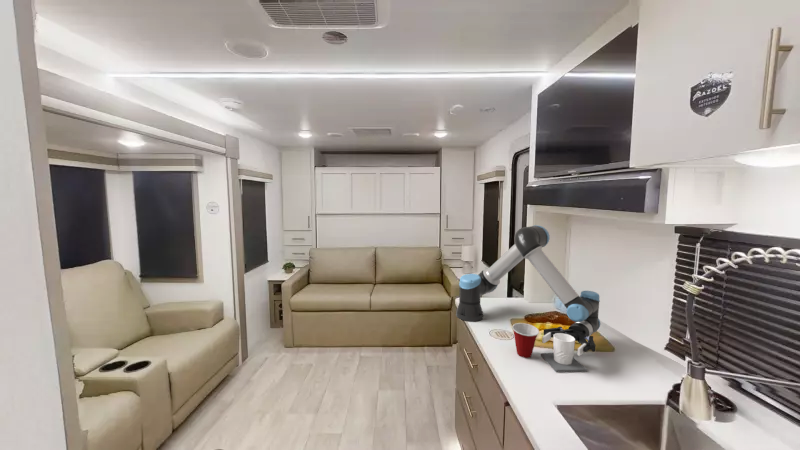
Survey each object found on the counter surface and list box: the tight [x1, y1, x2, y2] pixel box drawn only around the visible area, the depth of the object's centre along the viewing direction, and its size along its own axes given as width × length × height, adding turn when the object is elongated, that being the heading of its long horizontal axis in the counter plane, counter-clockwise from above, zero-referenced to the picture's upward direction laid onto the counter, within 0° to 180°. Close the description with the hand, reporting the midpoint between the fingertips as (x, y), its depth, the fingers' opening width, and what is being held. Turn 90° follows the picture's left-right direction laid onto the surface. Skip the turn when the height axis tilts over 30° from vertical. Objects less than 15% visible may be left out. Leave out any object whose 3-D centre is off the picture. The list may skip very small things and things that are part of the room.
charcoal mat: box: [540, 352, 588, 373], centre depth 128 cm, size 13×12×1 cm
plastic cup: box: [511, 322, 540, 359], centre depth 134 cm, size 11×11×12 cm
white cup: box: [552, 333, 576, 365], centre depth 127 cm, size 8×8×10 cm
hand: (560, 345), depth 125 cm, fingers open, 13 cm apart
